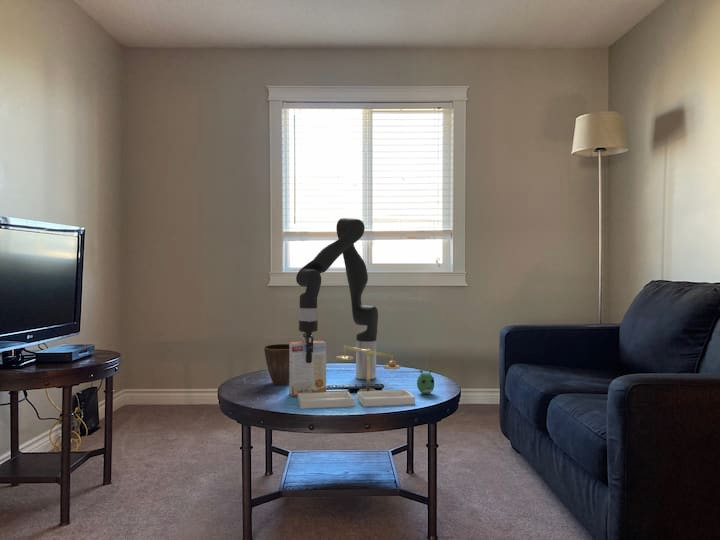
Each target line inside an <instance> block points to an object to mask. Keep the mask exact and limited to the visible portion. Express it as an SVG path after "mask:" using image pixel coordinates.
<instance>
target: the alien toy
mask: <svg viewBox="0 0 720 540" xmlns="http://www.w3.org/2000/svg"><path fill="white" fill-rule="evenodd" d="M428 370H429V372H424V370H423V369H420V370H419V371H418V372H419V373H420V374H419V376H418V377H417V380H416V386H417V389H418V391H419V393H421V394H423V395H428V394H431V393H432V392H433V391H434V388H435V378H434V376H433V375H432V374H431V373H432V372H433V371H434V370H433V369H431V368H429V369H428Z"/></svg>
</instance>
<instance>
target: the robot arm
mask: <svg viewBox="0 0 720 540" xmlns="http://www.w3.org/2000/svg"><path fill="white" fill-rule="evenodd" d="M365 230H366V229H365V224H364V222H363V220H361V219H359V218H354V217H353V218H351V217H342V218H339V219H338V220H337V223H336V235H337V238H338V239H336V240H334V242H331V243H330V244H328V245H327V246H325V247H324V248H322V249H321V250H320V251H319V252H318V254H317V255H316V256H315V257H314V258H313V259H312V260H311V261H309V262H308V263H306V264H305V265H304V266H302V267H301V268H300V269H299V271H298V272H297V274H296V276H295V278H296V279H295V280H296V283H297V284H298V285H299V286H300V287H306V288H305V292H303V293H301V294H300V295H299V310H298V311H299V312H298V331H299V332H300V333H302V341H304V343H305V348H306V363H311V362H312V352H313V341H315V339H314V337H315V336H314V335H313V333H314V332H315V333H316V332H317V331H318V328H319V327H318V325H319V324H318V323H319V322H318V321H319V320H318V319H319V315H318V314H319V313H318V297H319V292H320V289H321V286H322V285H321V284H322V275H321V274H323V273H325V272H327V271H328V270H329V268H330V267H331V266H332V265H333V263H334V262H335V261H336V260H337V259H338V258H339V257H340V256H341V255H342V257H343V263H344V266H345V272H346V273H345V274H346V279H347V283H348V288H349V294H350V300H351V301H350V302H351V312H352V319H353V322H354V323H355V325H358V326H366V329H365V330H364V331H362V332H358V333H357V334H356V335H355V336H356V337H355V338H356V339H355V340H356V341H355V344H356V347H355V348H360V349H365V350H367V349H371V351H375V352H377V336H378V335H377V334H378V323H379V310H378V308H377V307H376V306H375V305H363V304H362V294H363V292H364V290H365V288H366V286H367V283H368V279H369V274H368V269H367V265H366V262H365V261H364V259H363V258H362V257H361V254H360V253H359V252H358V251H357V249H356V246H355V243H357V242H358V241H359V240H360V239H361V238H362V237H363V235H364V233H365ZM306 343H307V345H306ZM308 348H311V349H308ZM355 355H356V356H355V361H356V362H355V379H358V380H367V354H366V353H364V352H359V351H355ZM376 378H377V355H375V354H370V380H374V379H376Z"/></svg>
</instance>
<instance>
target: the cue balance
mask: <svg viewBox="0 0 720 540" xmlns="http://www.w3.org/2000/svg"><path fill="white" fill-rule="evenodd" d="M342 348H343V355H337V356H335V360H336V361H337V360H338V361H352V360H354V356H351V355H346V350H349V351H353V352H356V351H359V352H364V353H366V354H367V379H366V388H358V389H359V390H358V392H359V391H377V390H376V389H375V388H374V387H373V388H372V387H371V379H370V354H375V355H376V356H380V357H386V358H391V360H388V361H387V362H388V363H387V364H384V365H383V366H382V367H383V369H386V370H399V369H401V368H402V367H401V365H399V364H396V363H397V361H396V360H393V359H394V355H393V354H389V353H385V352H380V351H376V352H375V351H371V349H367V350H365V349H360V348H356V347H354V346H349V345H343V346H342Z"/></svg>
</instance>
